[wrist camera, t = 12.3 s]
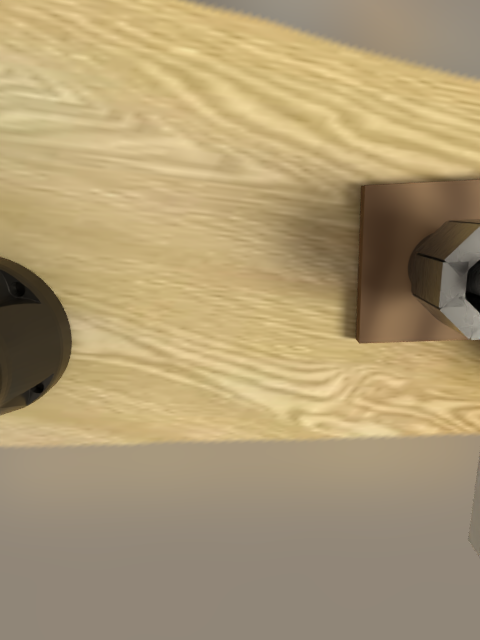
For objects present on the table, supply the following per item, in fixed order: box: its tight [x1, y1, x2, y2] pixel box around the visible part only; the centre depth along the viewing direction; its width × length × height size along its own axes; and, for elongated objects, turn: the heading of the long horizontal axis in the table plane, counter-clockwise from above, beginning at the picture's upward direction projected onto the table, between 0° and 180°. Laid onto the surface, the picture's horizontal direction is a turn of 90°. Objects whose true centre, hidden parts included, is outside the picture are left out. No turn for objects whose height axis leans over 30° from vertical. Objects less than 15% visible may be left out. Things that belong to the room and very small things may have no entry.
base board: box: [356, 180, 480, 343], centre depth 36 cm, size 14×14×1 cm
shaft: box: [408, 233, 480, 299], centre depth 30 cm, size 6×6×10 cm
